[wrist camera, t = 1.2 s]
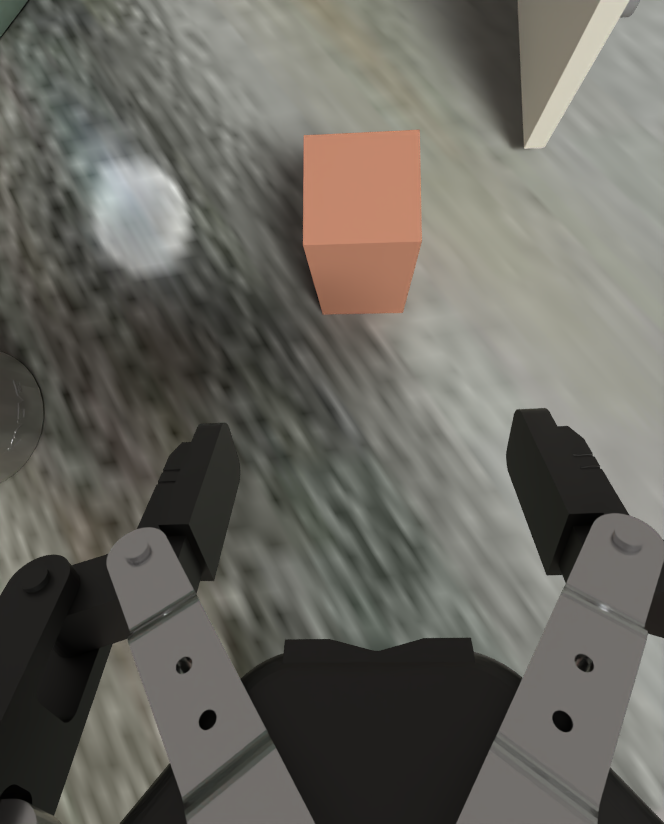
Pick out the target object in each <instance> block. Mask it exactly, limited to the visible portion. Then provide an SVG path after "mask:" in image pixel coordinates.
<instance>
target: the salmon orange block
mask: <svg viewBox="0 0 664 824" xmlns="http://www.w3.org/2000/svg"><path fill="white" fill-rule="evenodd" d="M421 242H422V229H421V177H420V130H406V131H385V132H364V133H344V134H323V135H304V180H303V247H304V250H305V254H306V257H307V261H308V264H309V268H310V271H311V275H312V278H313V282H314V285H315V288H316V292H317V295H318V299H319V302H320V306H321V309H322V313H323V314H365V313H403V310H404V306H405V303H406V299H407V295H408V291H409V288H410V284H411V280H412V276H413V273H414V269H415V265H416V261H417V257H418V254H419V250H420V246H421Z"/></svg>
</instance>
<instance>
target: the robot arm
mask: <svg viewBox="0 0 664 824" xmlns="http://www.w3.org/2000/svg"><path fill="white" fill-rule="evenodd" d="M43 418H44V417H43V401H42V397H41V393H40V389H39V387H38V385H37V383H36V381H35V379H34V377H33V376H32V374H31V373H30V372H29V371H28V369H27V368H26V367H25V366H24V365H23V364H22V363H20V362H19V361H18V360H16V359H15V358H14V357H12V356H10V355H8V354H5V353H3V352H1V351H0V483H1V482H4V481H5V480H7V479H8V478H10V477H11V476H12V475H14V474H15V473H16V472H18V470H19V469H20V468H21V467H22V466H23V465H24V464H25V463H26V462H27V461H28V459H29V457H30V456H31V454H32V453H33V451H34V449H35V448H36V445H37V443H38V440H39V437H40V435H41V430H42V424H43ZM506 461H507V468H508V472H509V475H510V478H511V481H512V483H513V486H514V489H515V491H516V494H517V497H518V499H519V502H520V505H521V508H522V510H523V513H524V516H525V518H526V521H527V524H528V526H529V529H530V532H531V534H532V537H533V540H534V543H535V545H536V548H537V551H538V553H539V556H540V559H541V561H542V564H543V567H544V570H545V572H546V575H563V577H564V580H565V582H566V584H565V586H564V588H563V590H562V592H561V594H560V596H559V599H558V601H557V603H556V605H555V608H554V610H553V612H552V614H551V616H550V619H549V621H548V623H547V625H546V627H545V630H544V632H543V634H542V636H541V638H540V641H539V643H538V645H537V647H536V650H535V652H534V654H533V656H532V658H531V661H530V663H529V665H528V667H527V669H526V672H525V674H524V676H523V678H522V677H521V676H520V675H518V674H517V673H516V672H515V671H513V670H512V669H510V668H509V667H507V666H506V665H504V664H502V663H500V662H498V661H496V660H495V659H493V658H490V657H487V656H485V655H482V654H479V653H476V652H474V651H473V646H472V641H471V638H423V639H420V640H416V641H413V642H409V643H406V644H402V645H399V646H395V647H392V648H388V649H385V650H381V651H373V650H369V649H365V648H361V647H357V646H353V645H350V644H346V643H342V642H338V641H335V640H331V639H298V640H285V646H284V654H280V655H277V656H275V657H272V658H270V659H268V660H266V661H264V662H262V663H261V664H259V665H257V666H256V667H254V668H253V669H252V670H250V671H249V672H248V673H246V674H245V675H244V676H243V677H242V678H241V679H240V678H239V676H238V674H237V672H236V670H235V668H234V666H233V664H232V662H231V660H230V658H229V657H228V655H227V653H226V651H225V649H224V647H223V645H222V643H221V641H220V639H219V637H218V635H217V633H216V631H215V629H214V628H213V626H212V624H211V622H210V620H209V618H208V616H207V614H206V612H205V610H204V608H203V606H202V604H201V602H200V601H199V599H198V597H197V595H196V593H197V590H198V586H199V582H200V581H214V579H215V575H216V571H217V567H218V563H219V559H220V555H221V551H222V547H223V544H224V540H225V536H226V532H227V528H228V524H229V520H230V516H231V512H232V508H233V504H234V500H235V497H236V493H237V489H238V485H239V480H240V464H239V459H238V456H237V452H236V449H235V446H234V442H233V439H232V436H231V432H230V429H229V426H228V424H227V423H209V424H199V425H198V427H197V429H196V432H195V434H194V437H193V439H192V442H182V443H181V444H180V445H179V446H178V447H177V448H176V449H175V450H174V451H173V452H172V453H171V454H170V456H169V458H168V460H167V462H166V465H165V467H164V469H163V473H162V474H161V476H160V478H159V480H158V485H156V487H155V489H154V492H153V494H152V496H151V499H150V501H149V503H148V505H147V508H146V510H145V512H144V514H143V517H142V519H141V521H140V523H139V526H138V528H137V530H134V531H132V532H129V533H128V534H126V535H124V536H123V537H122V538H120V539H119V540H118V541H117V542H116V543H115V544H114V545H113V547H112V548H111V550H110V552H109V554H106V555H104V556H101V557H97V558H94V559H91V560H88V561H84V562H81V563H78V564H75V565H71V564H70V563H69V562H68V560H67V559H66V558H64V557H63V556H60V555H46V556H43V557H39V558H37V559H35V560H33V561H31V562H29V563H27V564H26V565H24V566H23V567H22V568H21V569H19V570H18V571H17V572H16V573H15V574H14V575H13V576H12V578H11V579H10V580H9V582H8V583H7V585H6V587H5V588H4V590H3V592H2V594H1V595H0V824H61V822H60V821H59V820H58V819H57V818H56V817H55V816H54V814H55V811H56V808H57V805H58V802H59V799H60V797H61V794H62V791H63V788H64V785H65V782H66V779H67V776H68V773H69V770H70V767H71V764H72V761H73V758H74V755H75V753H76V750H77V747H78V744H79V741H80V738H81V735H82V732H83V729H84V726H85V723H86V720H87V717H88V714H89V711H90V708H91V706H92V703H93V700H94V697H95V694H96V691H97V688H98V685H99V682H100V679H101V676H102V673H103V670H104V667H105V664H106V662H107V659H108V656H109V653H110V650H111V647H112V644H113V643H116V642H119V641H122V640H125V639H128V643H129V646H130V649H131V652H132V655H133V658H134V661H135V664H136V666H137V669H138V672H139V675H140V678H141V681H142V684H143V686H144V689H145V692H146V695H147V698H148V701H149V704H150V707H151V709H152V712H153V715H154V718H155V721H156V724H157V727H158V730H159V732H160V735H161V738H162V741H163V744H164V747H165V750H166V752H167V755H168V758H169V761H170V763H169V765H168V766H167V767H166V768H165V769H164V771H163V772H162V773H161V774H160V775H159V777H158V778H157V779H156V780H155V781H154V783H153V784H152V785H151V786H150V788H149V789H148V790H147V791H146V792H145V794H144V795H143V796H142V797H141V798H140V800H139V801H138V802H137V803H136V804H135V806H134V807H133V808H132V809H131V810H130V812H129V813H128V814H127V815H126V816H125V818H124V819H123V820H122V821H121V822H120V824H664V822H663V821H662V820H661V819H660V818H659V817H658V816H657V815H656V814H655V813H654V812H653V811H652V810H651V809H650V808H649V807H648V806H647V805H646V804H645V803H644V802H643V801H642V800H641V799H640V798H639V797H638V795H637V794H636V793H635V792H634V791H633V790H632V789H631V788H630V787H629V786H628V785H627V784H626V783H625V782H624V781H623V780H622V779H621V778H620V777H619V776H618V775H617V774H616V773H615V772H614V771H613V770H612V769H611V768H610V766H611V762H612V759H613V755H614V752H615V748H616V745H617V741H618V738H619V734H620V731H621V727H622V724H623V720H624V717H625V714H626V710H627V707H628V703H629V700H630V696H631V693H632V689H633V686H634V682H635V679H636V675H637V672H638V668H639V665H640V661H641V658H642V654H643V651H644V647H645V644H646V640H647V635H648V634H651V635H655V636H658V637H662V638H664V540H663V539H662V538H661V536H660V535H659V534H658V533H657V532H656V531H655V530H654V529H653V528H652V527H651V526H649V525H648V524H647V523H645V522H643V521H642V520H639V519H637V518H635V517H632V516H630V515H629V514H628V512H627V511H626V509H625V507H624V505H623V504H622V502H621V500H620V499H619V497H618V495H617V494H616V492H615V490H614V489H613V487H612V485H611V484H610V482H609V480H608V479H607V477H606V475H605V474H604V472H603V470H602V469H600V465H599V463H598V462H597V460H596V458H595V457H593V453H592V452H591V450H590V448H589V447H588V445H587V443H586V442H585V440H584V438H582V437H581V436H580V435H579V434H577V433H576V432H575V431H574V430H572V429H571V428H570V427H569V426H558V427H557V425H556V423H555V421H554V419H553V418H552V416H551V414H550V412H549V411H548V409H546V408H538V409H518V410H516V411H515V413H514V417H513V422H512V427H511V432H510V436H509V441H508V446H507V452H506Z"/></svg>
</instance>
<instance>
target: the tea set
mask: <svg viewBox="0 0 664 824" xmlns="http://www.w3.org/2000/svg"><path fill="white" fill-rule="evenodd" d="M27 1H28V0H0V37H1V36H2V34H3V33H4V32H5V30H6V29H7V28H8V26H9V25H10V24H11V22H12V21H13V20H14V18H15V17H16V16H17V14H18V13H19V12H20V10H21V9H22V8H23V6H24V5H25V4H26V2H27Z"/></svg>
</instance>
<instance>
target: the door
mask: <svg viewBox="0 0 664 824" xmlns="http://www.w3.org/2000/svg"><path fill="white" fill-rule="evenodd" d="M639 2H640V0H518V21H519V44H520V67H521V90H522V113H523V136H524V149H527V148H544V147H545V146H546V144H547V142H548V140H549V139H550V137H551V135H552V133H553V132H554V130H555V128H556V127H557V125H558V123H559V121H560V120H561V118H562V116H563V114H564V113H565V111H566V109H567V108H568V106H569V104H570V102H571V101H572V99H573V97H574V95H575V94H576V92H577V90H578V89H579V87H580V85H581V83H582V82H583V80H584V78H585V76H586V75H587V73H588V71H589V70H590V68H591V66H592V64H593V63H594V61H595V59H596V58H597V56H598V54H599V52H600V51H601V49H602V47H603V45H604V44H605V42H606V40H607V39H608V37H609V35H610V33H611V32H612V30H613V28H614V26H615V25H616V23H617V21H618V20H619V18H620V17H629V16H630V15H632V13H633V12H634V11H635V9H636V8H637V6H638V4H639Z"/></svg>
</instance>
